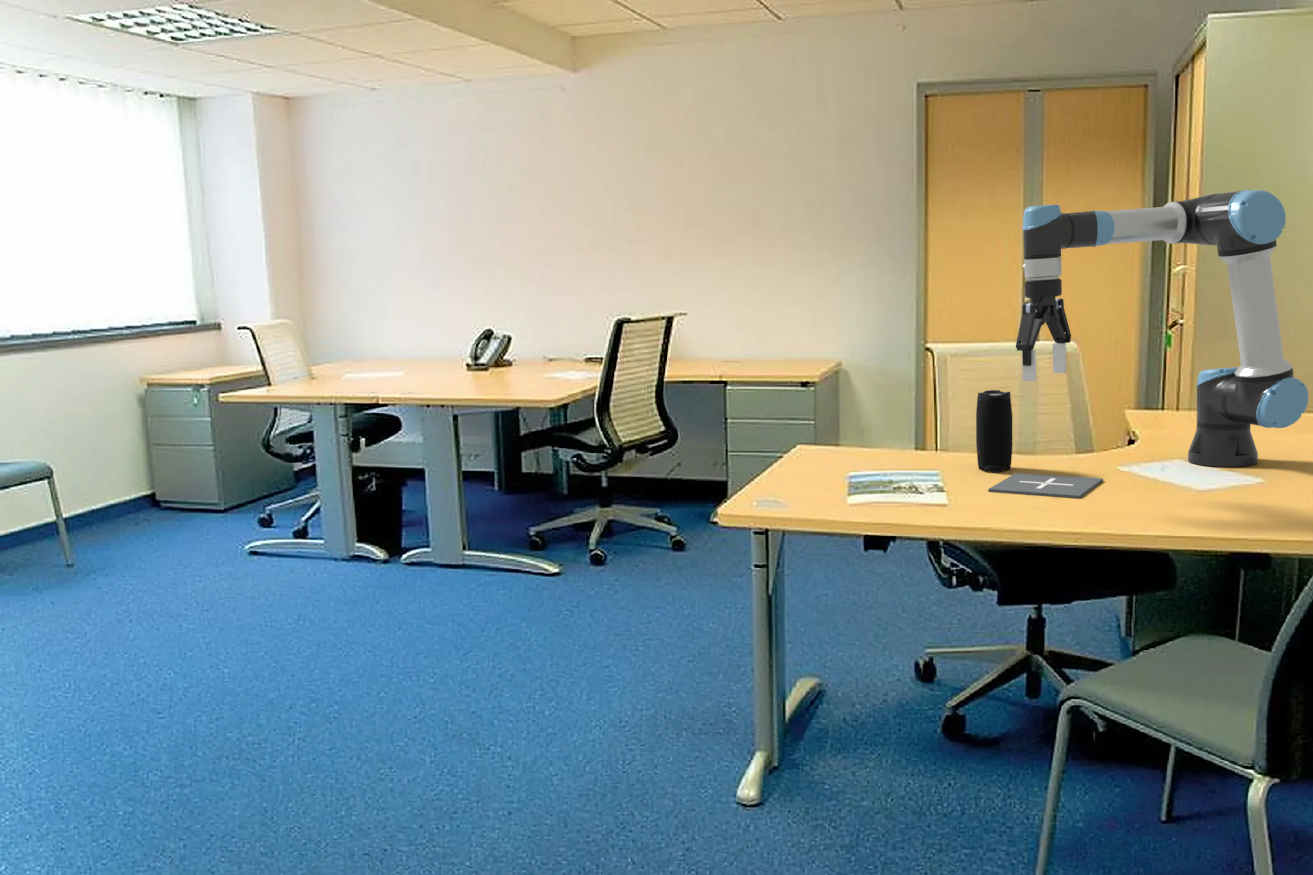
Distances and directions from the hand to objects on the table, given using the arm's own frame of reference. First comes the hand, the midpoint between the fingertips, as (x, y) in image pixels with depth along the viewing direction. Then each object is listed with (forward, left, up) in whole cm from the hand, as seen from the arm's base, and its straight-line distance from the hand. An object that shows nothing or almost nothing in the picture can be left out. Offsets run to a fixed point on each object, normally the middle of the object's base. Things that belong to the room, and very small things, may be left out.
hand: (1044, 376), depth 237 cm
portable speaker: (+19, -24, -27) cm, 41 cm away
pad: (+2, -9, -26) cm, 28 cm away
